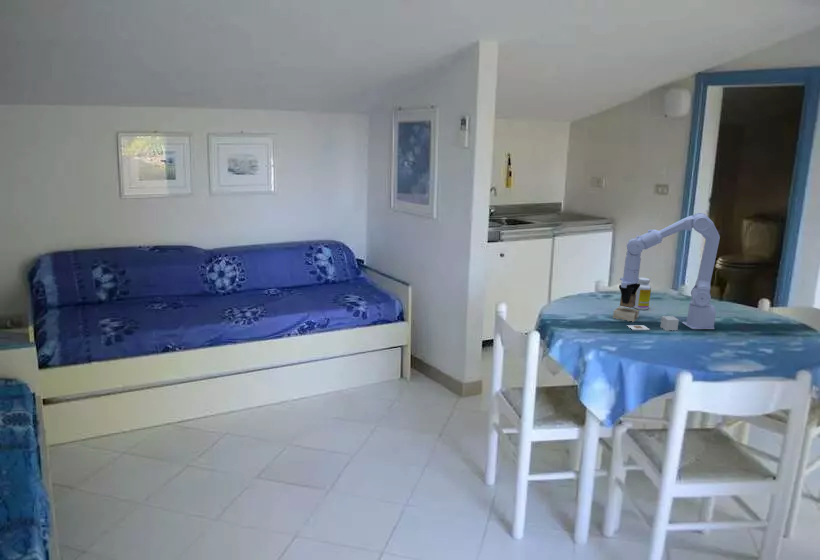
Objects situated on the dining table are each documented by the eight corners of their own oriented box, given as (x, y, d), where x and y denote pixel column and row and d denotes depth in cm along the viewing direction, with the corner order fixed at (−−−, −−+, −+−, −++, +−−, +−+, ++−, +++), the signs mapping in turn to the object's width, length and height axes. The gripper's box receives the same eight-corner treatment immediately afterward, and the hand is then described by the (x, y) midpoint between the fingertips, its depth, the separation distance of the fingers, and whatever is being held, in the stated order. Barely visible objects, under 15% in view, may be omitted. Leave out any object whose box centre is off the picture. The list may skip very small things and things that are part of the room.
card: (643, 325, 256) (643, 325, 256) (649, 330, 251) (649, 329, 251) (626, 325, 255) (626, 324, 255) (632, 330, 250) (632, 329, 250)
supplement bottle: (651, 309, 280) (655, 279, 277) (641, 311, 276) (645, 281, 273) (638, 305, 285) (642, 276, 282) (628, 306, 282) (632, 277, 278)
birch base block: (618, 314, 271) (619, 306, 270) (638, 318, 267) (639, 310, 266) (612, 318, 264) (613, 310, 264) (633, 322, 260) (634, 314, 260)
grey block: (671, 327, 256) (672, 316, 255) (677, 331, 252) (678, 319, 251) (660, 327, 255) (661, 316, 254) (666, 331, 251) (667, 319, 250)
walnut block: (623, 303, 267) (625, 292, 266) (634, 305, 265) (636, 294, 264) (619, 305, 264) (621, 294, 263) (630, 307, 261) (632, 297, 260)
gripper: (628, 264, 269) (624, 296, 272) (615, 270, 257) (611, 303, 261) (645, 267, 264) (641, 300, 268) (633, 273, 253) (628, 307, 257)
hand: (627, 302), depth 264 cm, fingers closed on walnut block, 4 cm apart
